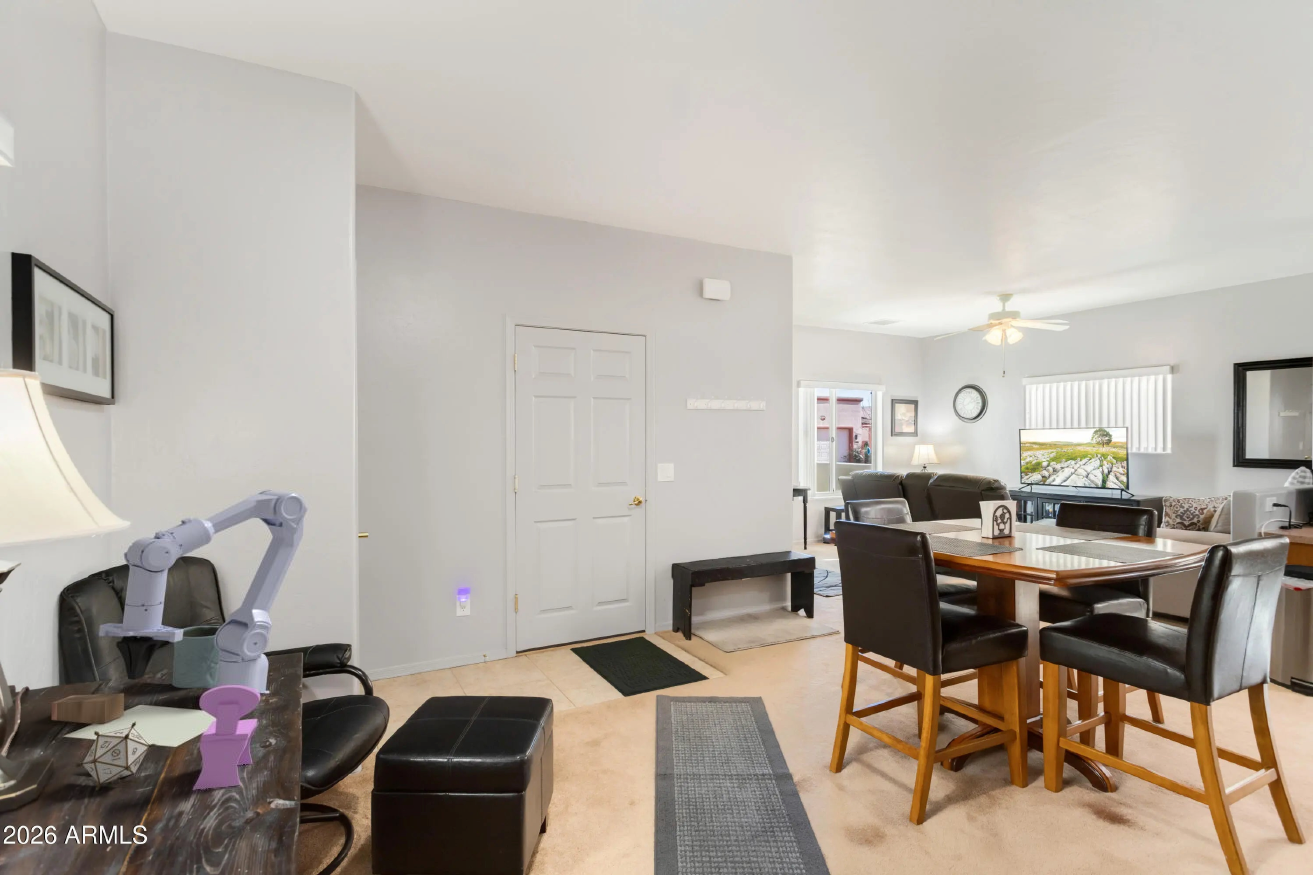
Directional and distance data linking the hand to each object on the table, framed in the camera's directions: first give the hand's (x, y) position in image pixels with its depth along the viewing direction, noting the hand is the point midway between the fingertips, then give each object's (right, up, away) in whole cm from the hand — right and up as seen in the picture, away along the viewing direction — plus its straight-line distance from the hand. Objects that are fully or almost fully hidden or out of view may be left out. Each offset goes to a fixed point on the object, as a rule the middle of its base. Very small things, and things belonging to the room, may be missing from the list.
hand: (135, 677), depth 120 cm
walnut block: (-4, -5, 0) cm, 7 cm away
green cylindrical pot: (-5, -10, +23) cm, 25 cm away
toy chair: (+27, -10, -16) cm, 33 cm away
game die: (+13, -9, -20) cm, 25 cm away
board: (+4, -9, -1) cm, 10 cm away
